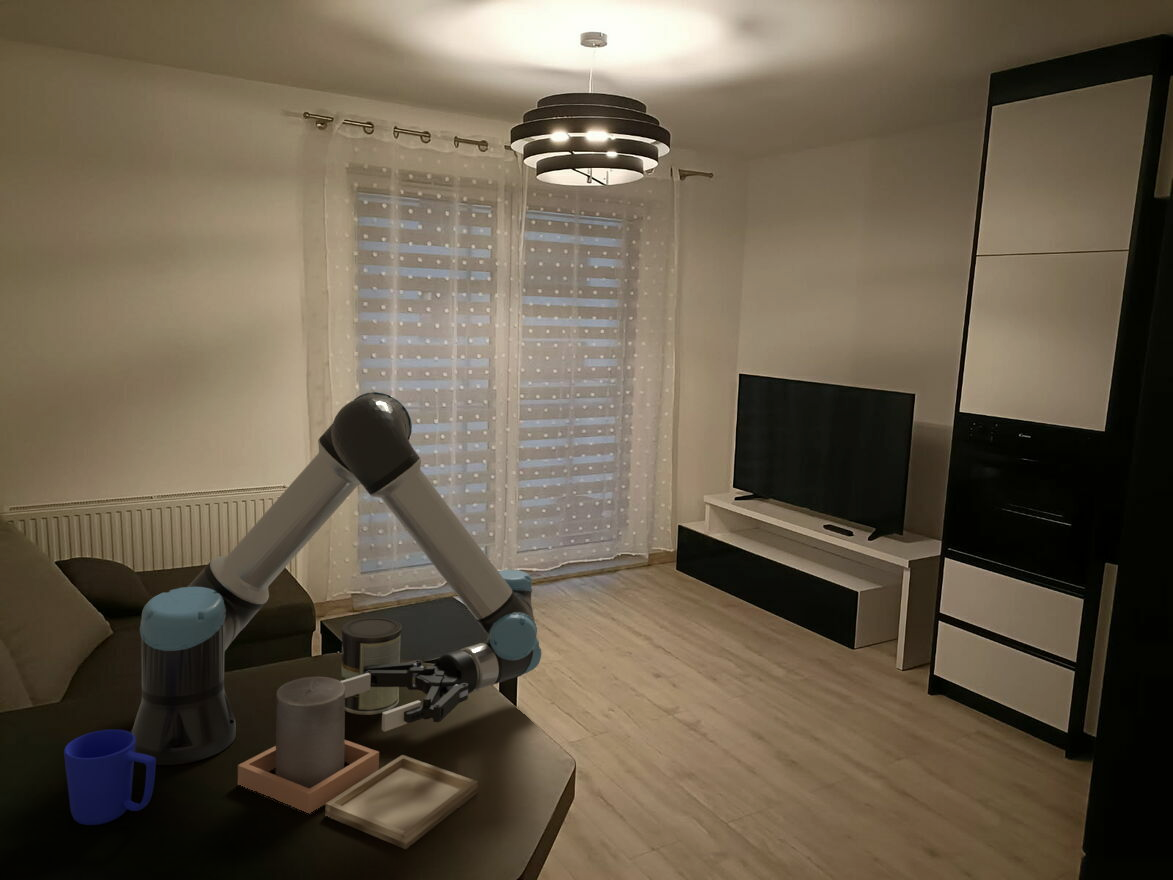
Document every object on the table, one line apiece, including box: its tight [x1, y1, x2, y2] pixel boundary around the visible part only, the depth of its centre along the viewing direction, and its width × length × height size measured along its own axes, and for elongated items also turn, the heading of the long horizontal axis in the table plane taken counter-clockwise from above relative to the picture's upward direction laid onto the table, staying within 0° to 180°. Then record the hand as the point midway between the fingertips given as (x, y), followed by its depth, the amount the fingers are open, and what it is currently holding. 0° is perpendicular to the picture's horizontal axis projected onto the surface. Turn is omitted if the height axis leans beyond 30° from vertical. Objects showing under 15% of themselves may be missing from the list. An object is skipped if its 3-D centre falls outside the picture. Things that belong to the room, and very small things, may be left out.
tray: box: [324, 754, 479, 850], centre depth 118 cm, size 14×16×2 cm
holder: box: [237, 738, 380, 815], centre depth 123 cm, size 14×14×3 cm
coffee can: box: [340, 616, 403, 716], centre depth 148 cm, size 10×10×14 cm
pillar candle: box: [275, 676, 346, 789], centre depth 122 cm, size 10×10×15 cm
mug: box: [63, 729, 157, 826], centre depth 111 cm, size 8×12×10 cm
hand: (357, 706), depth 128 cm, fingers open, 13 cm apart
